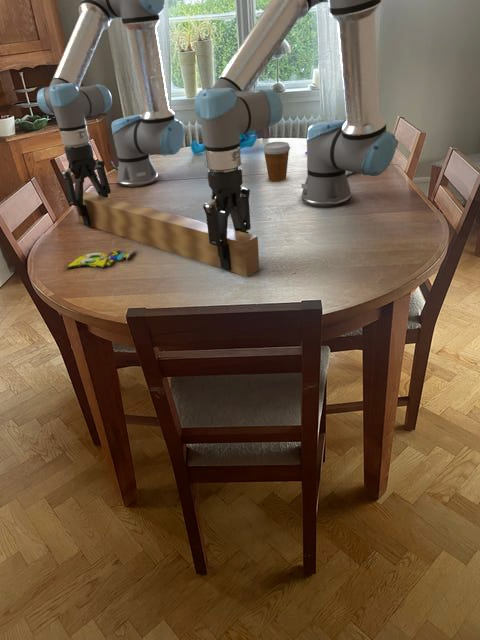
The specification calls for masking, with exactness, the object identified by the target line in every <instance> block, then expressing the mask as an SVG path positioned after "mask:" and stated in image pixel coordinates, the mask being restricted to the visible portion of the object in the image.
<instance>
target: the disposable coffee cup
mask: <svg viewBox="0 0 480 640" xmlns="http://www.w3.org/2000/svg"><path fill="white" fill-rule="evenodd" d="M290 149H291V146H290V144H289V142H286V141H272V142H266V143H265V144H263V148H262V151H263V153H264V159H265V165H266V171H267V178H268V182H272V183H273V182H274V183H278V182H279V183H280V182H283V181H286V180H287V174H288V165H289V155H290V154H289V153H290Z"/></svg>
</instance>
